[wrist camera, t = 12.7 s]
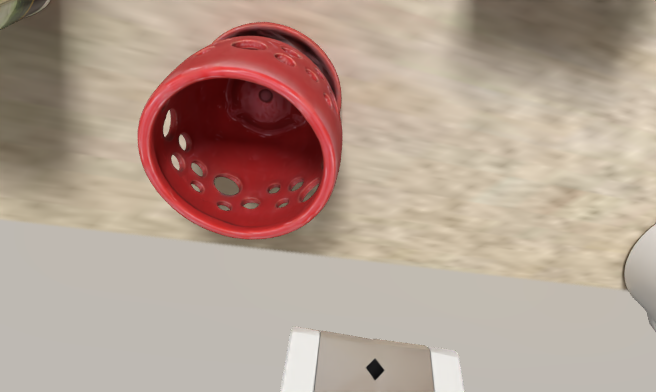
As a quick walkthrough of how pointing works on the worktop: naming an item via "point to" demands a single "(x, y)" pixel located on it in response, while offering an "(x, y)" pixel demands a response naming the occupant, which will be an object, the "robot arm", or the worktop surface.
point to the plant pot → (247, 131)
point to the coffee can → (19, 10)
